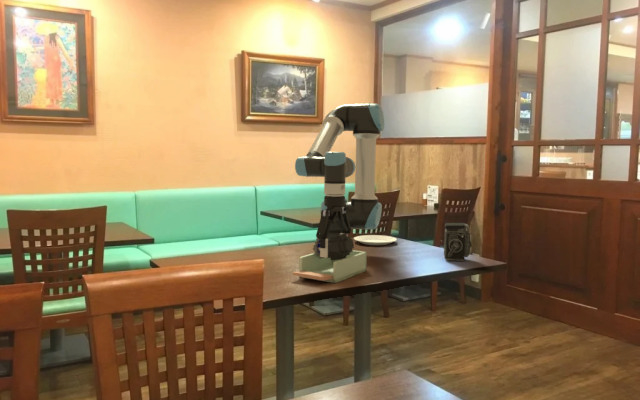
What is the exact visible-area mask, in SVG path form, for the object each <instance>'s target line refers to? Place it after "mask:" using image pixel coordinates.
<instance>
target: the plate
mask: <svg viewBox="0 0 640 400" xmlns="http://www.w3.org/2000/svg"><path fill="white" fill-rule="evenodd" d="M353 240H355V241H358V242H359V243H360V244H363V245H368V246H386V245H389V244H391V243H394V242H396V241H397V240H398V239H397V237H394V236H390V235H389V236H388V235H380V234H378V235H377V234H367V235H365V234H364V235H357V236H354V237H353Z"/></svg>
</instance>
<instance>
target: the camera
mask: <svg viewBox="0 0 640 400" xmlns="http://www.w3.org/2000/svg"><path fill="white" fill-rule="evenodd" d="M444 227H445V229H444V237H443V238H444V241H443V255H444V259H445V260H446V261H447V262H448V261H457V262H459V261H460V262H465V258H468V257H469V256H471V254H472V247H473V246H472V244H473V243H472V234H471V233H470V232H469V230H470V229H469V228H470V226H469V225H468V224H467V223H465V222H445V223H444Z"/></svg>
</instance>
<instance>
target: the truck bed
mask: <svg viewBox="0 0 640 400" xmlns="http://www.w3.org/2000/svg"><path fill="white" fill-rule="evenodd" d="M352 250H353V249H352ZM367 257H368V252H367V251H363V250H362V251H361V250H353V252H350V255H347V256H346V258H345V259H342V260H331V258H322V259H319V256H317V254H315V252H313V253H310V254H305V255H302V256H299V261H298V262H299V264H298V265H299V267H298V268H299V269H298V271H308V272H314V273H320V274H326V275H332V276H333V279H328V280H318V279H313V278H307V277H301V276H298V277H299V278H304V279H309V280H310V279H311V280H314V281H315V280H316V281H321V282H326V283H327V282H328V283H333V284H337V283H339V282H342V281H344V280H347V279H349V278H352V277H355V276H358V275H359V274H362V273H364V272H367V267H368V264H367V263H368V258H367Z"/></svg>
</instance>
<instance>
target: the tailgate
mask: <svg viewBox="0 0 640 400" xmlns="http://www.w3.org/2000/svg"><path fill="white" fill-rule="evenodd" d="M292 276H297V277H299V276H301V277H300V278H303V277H307V278H306V279H309V278H313V279H312V280H315V279H318V280H317V281H320V280H328V279H333V276H332V275H326V274H320V273H314V272H308V271H299V270H298V271H293V272H292Z"/></svg>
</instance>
